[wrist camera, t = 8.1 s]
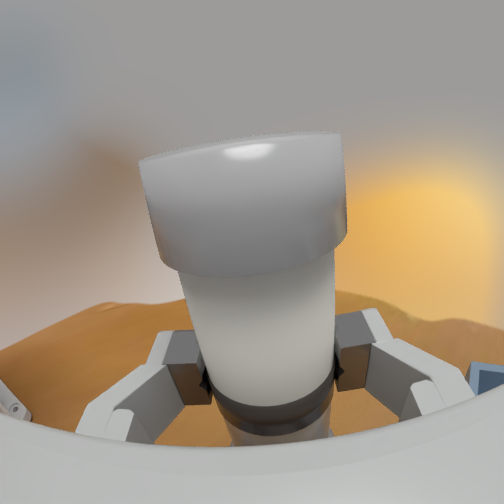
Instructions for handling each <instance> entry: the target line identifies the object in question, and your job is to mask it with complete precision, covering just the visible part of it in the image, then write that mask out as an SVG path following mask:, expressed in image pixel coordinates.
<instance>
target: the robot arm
mask: <svg viewBox="0 0 504 504" xmlns="http://www.w3.org/2000/svg"><path fill="white" fill-rule="evenodd" d="M334 351H335V376H334V380H335V383H336V387H337V391H338V392H342V391H348V390H355V389H360V388H365V390H367V391H368V392H369V393H370V394H371V395H373V396H374V397H375V398H376V399H377V400H379V401H380V402H381V403H382V404H383V405H385V406H386V407H387V408H388V409H389V410H391V411H392V412H393V413H394V414H396V415H397V416H398V417H399V418H400V419H399V421H398V423H395V424H391V425H387V426H383V427H379V428H375V429H370V430H366V431H361V432H357V433H352V434H346V435H341V436H335V437H330V438H323V439H317V440H310V441H302V442H293V443H284V444H273V445H259V446H239V447H188V446H168V445H155V444H154V441H155V440H156V439H157V438H158V437H159V436H160V435H161V434H162V432H163V431H164V430H165V429H166V428H167V427H168V426H169V425H170V423H171V422H172V421H173V420H174V419H175V418H176V417H177V415H178V414H179V413H180V412H181V411H182V410H183V408H184V407H185V406H184V405H210V404H211V402H212V395H213V392H212V389H211V386H210V383H209V380H208V377H207V373H206V365H205V362H204V359H203V356H202V353H201V350H200V347H199V343H198V340H197V337H196V334H195V330H175V331H160V332H159V333H158V334H157V337H156V339H155V342H154V344H153V347H152V349H151V352H150V354H149V357H148V359H147V362H146V364H145V365H140V366H139V367H137V368H136V369H135V370H133V371H132V372H131V373H129V374H128V375H127V376H125V377H124V378H123V379H121V380H120V381H119V382H117V383H116V384H115V385H113V386H112V387H111V388H109V389H108V390H107V391H105V392H104V393H102V394H101V395H100V396H98V397H97V398H96V399H94V400H93V401H92V402H90V403H89V404H88V405H87V407H86V409H85V411H84V413H83V416H82V418H81V420H80V422H79V424H78V427H77V429H76V431H75V433H73V432H68V431H64V430H60V429H55V428H51V427H48V426H44V425H40V424H36V423H33V422H30V420H31V412H30V411H29V410H28V409H27V408H26V407H25V406H24V405H23V404H22V403H21V402H20V401H19V400H18V399H17V398H16V396H15V395H14V394H13V393H12V392H11V391H10V390H9V389H8V388H7V386H6V385H5V384H4V383H3V382H2V381H1V379H0V504H504V384H502V385H500V386H498V387H496V388H493V389H491V390H489V391H487V392H484V393H482V394H480V395H477V396H475V395H474V393H473V391H472V390H471V388H470V386H469V385H468V383H467V381H466V380H465V378H464V376H463V375H462V373H461V372H460V370H459V369H458V368H456V367H454V366H452V365H450V364H448V363H446V362H444V361H442V360H440V359H438V358H436V357H434V356H432V355H430V354H428V353H426V352H424V351H422V350H420V349H418V348H416V347H414V346H413V345H411V344H409V343H407V342H405V341H403V340H401V339H399V338H397V339H393V337H392V335H391V333H390V331H389V330H388V328H387V326H386V324H385V322H384V321H383V319H382V317H381V315H380V314H379V312H378V310H377V309H376V308H370V309H365V310H360V311H357V312H351V313H345V314H339V315H335V331H334Z"/></svg>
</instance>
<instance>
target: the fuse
mask: <svg viewBox="0 0 504 504" xmlns="http://www.w3.org/2000/svg"><path fill="white" fill-rule="evenodd" d="M138 165H139V170H140V175H141V179H142V184H143V189H144V193H145V198H146V202H147V207H148V211H149V215H150V219H151V224H152V228H153V232H154V236H155V240H156V243H157V247H158V251H159V255H160V258H161V260H162V261H163V263H165V264H166V265H167V266H169V267H170V268H172V269H174V270H177V271H178V274H179V277H180V281H181V284H182V288H183V292H184V296H185V299H186V303H187V306H188V310H189V313H190V317H191V320H192V324H193V327H194V330H195V334H196V337H197V340H198V343H199V347H200V350H201V353H202V356H203V359H204V362H205V365H206V373H207V377H208V380H209V383H210V386H211V389H212V392H213V395H214V397H215V400H216V403H217V406H218V408H219V411H220V412H221V414H222V415H223V418H224V420H225V423H226V426H227V428H228V431H229V434H230V436H231V439H232V442H231V447H239V446H259V445H273V444H284V443H293V442H302V441H310V440H317V439H323V438H330V437H334V435H333V433H332V430H331V429H330V427H329V424H330V412H331V400H332V397H333V391H334V376H335V351H334V331H335V261H334V248H335V247H337V246H338V245H339V244H340V243H341V242H342V241H343V239H344V238H345V236H346V233H347V210H346V209H347V207H346V187H345V171H344V157H343V144H342V135H341V132H336V131H302V132H301V131H300V132H286V133H274V134H263V135H255V136H247V137H240V138H233V139H226V140H220V141H215V142H209V143H204V144H199V145H194V146H189V147H185V148H181V149H176V150H172V151H169V152H165V153H161V154H158V155H154V156H152V157H148V158H145V159H143V160H141V161H139V162H138Z"/></svg>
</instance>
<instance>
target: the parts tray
mask: <svg viewBox="0 0 504 504" xmlns="http://www.w3.org/2000/svg"><path fill="white" fill-rule="evenodd" d="M465 380H466V381H467V383H468V385H469V386H470V388H471V390H472V391H473V393H474V395H475V396H477V395H480V394H482V393H484V392H487V391H489V390H491V389H493V388H496V387H498V386H500V385H502V384H504V366H502V365H495V364H487V363H480V362H473V361H471V363H470V366H469V368H468V371H467V373H466V376H465Z"/></svg>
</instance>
